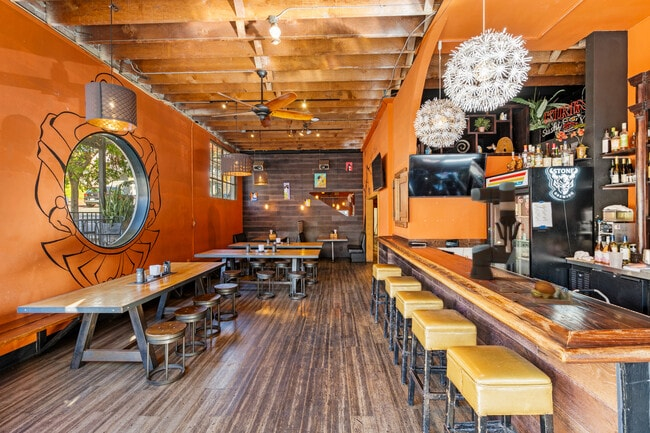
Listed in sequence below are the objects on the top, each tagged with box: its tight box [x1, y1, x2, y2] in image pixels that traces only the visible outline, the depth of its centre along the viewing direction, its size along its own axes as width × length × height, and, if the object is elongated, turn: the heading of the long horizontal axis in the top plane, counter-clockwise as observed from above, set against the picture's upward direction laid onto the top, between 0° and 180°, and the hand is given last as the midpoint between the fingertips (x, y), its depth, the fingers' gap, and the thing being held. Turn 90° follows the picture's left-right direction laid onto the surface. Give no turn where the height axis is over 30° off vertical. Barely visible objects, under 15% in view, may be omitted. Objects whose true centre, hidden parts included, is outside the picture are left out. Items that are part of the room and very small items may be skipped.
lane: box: [500, 284, 573, 306], centre depth 164 cm, size 21×26×5 cm
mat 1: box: [522, 289, 533, 294], centre depth 177 cm, size 6×7×1 cm
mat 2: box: [522, 301, 540, 308], centre depth 152 cm, size 6×7×1 cm
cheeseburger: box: [530, 280, 556, 300], centre depth 163 cm, size 10×11×10 cm
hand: (508, 252), depth 169 cm, fingers closed
